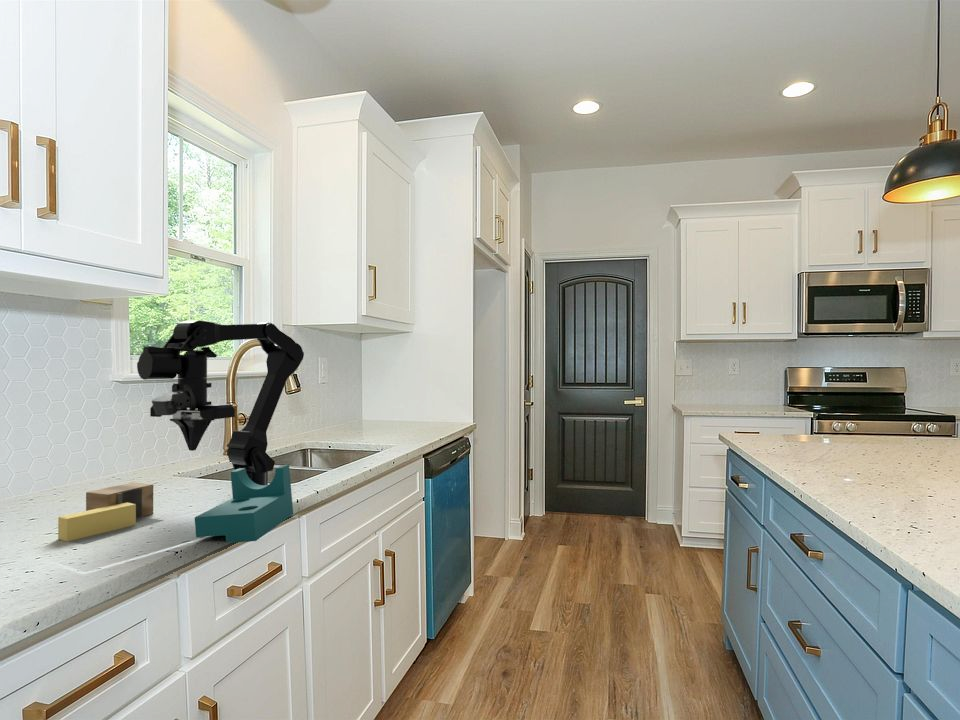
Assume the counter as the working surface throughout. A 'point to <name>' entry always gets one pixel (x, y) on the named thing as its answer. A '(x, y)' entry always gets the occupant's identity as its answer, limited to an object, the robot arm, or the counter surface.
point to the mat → (116, 531)
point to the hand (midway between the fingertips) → (192, 450)
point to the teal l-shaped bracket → (249, 508)
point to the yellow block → (96, 521)
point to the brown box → (123, 497)
